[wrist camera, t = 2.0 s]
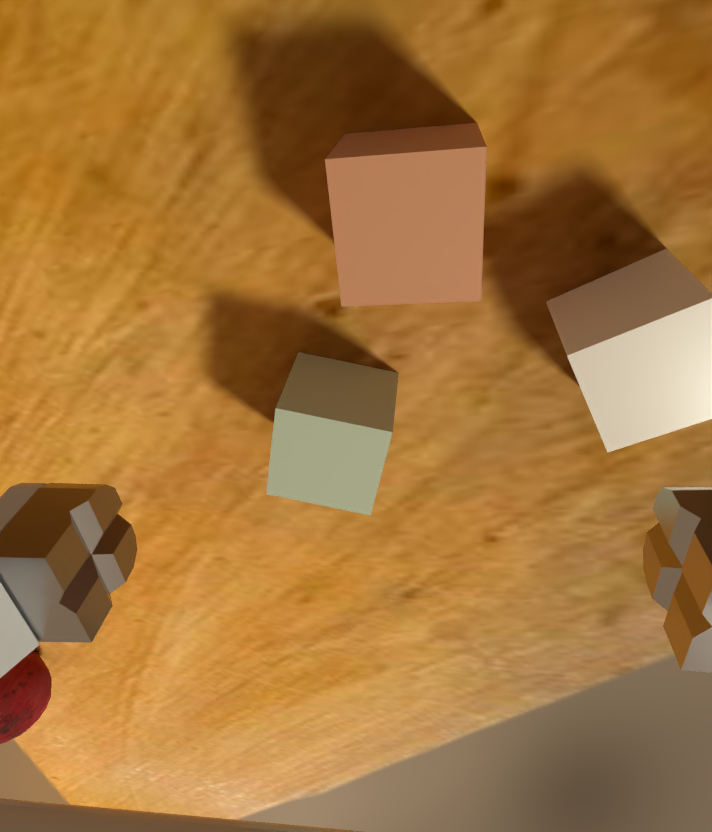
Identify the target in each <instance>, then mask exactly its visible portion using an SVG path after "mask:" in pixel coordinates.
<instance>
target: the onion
mask: <svg viewBox="0 0 712 832" xmlns="http://www.w3.org/2000/svg"><path fill="white" fill-rule="evenodd" d="M50 697H51V676H50V673H49V670H48V668H47V667H46V665H45V663H44V662H43V660H42V659H41V657H40V655H39V654H38V653H37V652H35V651H32V652H30V653H29V654H28V655H27V656H26V657H25V658H23V659H22V660H21V661H20V662H19V663H17V664H16V665H15V666H14V667H13V668H12V669H10V670H9V671H8V672H7V673H6V674H5V675H3V676H2V677H1V678H0V744H2V743H5V742H7V741H9V740H11V739H13V738H15V737H17V736H19V735H21V734H22V733H23V732H25V731H26V730H27V729H29V728H30V727H31V726H32V725H33V724H34V723H35V722H36V721H37V720H38V719H39V718H40V716H41V715H42V713H43V712H44V711H45V709H46V707H47V705H48V702H49V700H50Z"/></svg>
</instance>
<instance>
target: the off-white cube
mask: <svg viewBox="0 0 712 832" xmlns="http://www.w3.org/2000/svg"><path fill="white" fill-rule="evenodd" d="M546 303H547V306H548V309H549V311H550V314H551V316H552V319H553V321H554V324H555V326H556V329H557V332H558V334H559V337H560V339H561V342H562V344H563V347H564V350H565V352H566V355H567V357H568V359H569V362H570V364H571V367H572V369H573V371H574V374H575V376H576V378H577V381H578V383H579V386H580V388H581V390H582V393H583V395H584V397H585V400H586V402H587V404H588V407H589V409H590V412H591V414H592V416H593V419H594V421H595V423H596V426H597V428H598V431H599V433H600V435H601V438H602V440H603V442H604V445H605V447H606V449H607V452H611V451H614V450H617V449H620V448H623V447H626V446H629V445H632V444H635V443H638V442H641V441H644V440H648V439H651V438H654V437H657V436H660V435H663V434H666V433H669V432H672V431H675V430H678V429H681V428H685V427H688V426H691V425H694V424H697V423H700V422H703V421H706V420H709V419H712V293H711V292H710V291H709V290H708V289H707V288H706V287H705V286H704V285H703V284H702V283H701V282H700V281H699V280H698V279H697V278H696V277H695V276H694V275H693V274H692V273H691V272H690V271H689V270H688V269H687V268H686V267H685V266H684V265H683V264H682V263H681V262H680V261H679V260H678V259H677V258H676V257H675V256H674V255H673V254H672V253H671V252H670V251H669V250H668V249H664V250H662V251H660V252H657V253H655V254H653V255H651V256H648V257H646V258H644V259H642V260H639V261H637V262H635V263H632V264H630V265H628V266H626V267H623V268H621V269H619V270H617V271H614V272H612V273H610V274H607V275H605V276H603V277H601V278H598V279H596V280H594V281H591V282H589V283H587V284H585V285H582V286H580V287H578V288H576V289H573V290H571V291H569V292H566V293H564V294H562V295H560V296H557V297H555V298H553V299H551V300H548V301H546Z"/></svg>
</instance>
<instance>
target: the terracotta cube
mask: <svg viewBox="0 0 712 832" xmlns="http://www.w3.org/2000/svg"><path fill="white" fill-rule="evenodd" d="M486 148H487V147H486V144H485V142H484V139H483V137H482V134H481V132H480V129H479V127H478V124H477V123H465V124H453V125H441V126H430V127H418V128H406V129H394V130H382V131H371V132H359V133H347V134H344V135H343V137H342V138H341V139H340V141H339V142H338V143H337V144H336V146H335V147H334V148H333V149H332V151H331V152H330V153H329V155H328V156H327V157H326V158H325V165H326V174H327V183H328V192H329V200H330V209H331V218H332V227H333V236H334V244H335V253H336V262H337V271H338V279H339V288H340V297H341V306H365V305H390V304H415V303H440V302H465V301H481V292H482V263H483V234H484V206H485V177H486Z"/></svg>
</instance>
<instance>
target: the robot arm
mask: <svg viewBox="0 0 712 832" xmlns="http://www.w3.org/2000/svg"><path fill="white" fill-rule="evenodd" d="M121 506H122V502H121V500H120V498H119V496H118V493H117V491H116V489H115V488H114V487H111V486H108V485H102V484H68V483H49V484H45V483H20V484H17V485H14V486H12V487H10V488H9V489H8V490H7V491H6V492H5V493H4V494H3V495H2V496H1V497H0V678H1V677H2V676H3V675H5V674H6V673H7V672H8V671H9V670H10V669H12V668H13V667H14V666H15V665H16V664H17V663H19V662H20V661H21V660H22V659H23V658H25V657H26V656H27V655H28V654H29V653H30V652H32V651H33V650H34V649H35V648H36V647H37V646H39V644H40V643H39V642H92V641H93V639H94V637H95V636H96V634H97V632H98V630H99V629H100V627H101V625H102V623H103V621H104V620H105V618H106V616H107V614H108V613H109V611H110V609H111V607H112V606H113V605H112V601H111V596H110V593H111V592H113V591H114V590H116V589H117V588H118V587H120V586H121V585H123V584H124V583H125V582H126V581H127V579H128V577H129V575H130V573H131V571H132V569H133V567H134V563H135V558H136V552H137V544H136V536H135V533H134V531H133V528H132V526H131V524H130V523H129V522H127V521H126V520H125V519H124V518H122V517H121V516H120V515H119V514H118V512H119V510H120V508H121ZM653 510H654V512H655V515H656V517H657V519H658V521H659V523H658V524H657V525H656V526H654V527H653V528H652V529H650V530H649V531H648V532H647V534H646V538H645V543H644V547H643V569H644V573H645V578H646V582H647V585H648V588H649V591H650V593H651V596H652V599H654V600H655V601H656V602H657V603H659V604H660V605H661V606H662V607H664V608H665V609H666V610H667V611H668V612H667V616H666V619H665V622H664V625H663V627H664V629H665V632H666V634H667V637H668V639H669V641H670V644H671V646H672V649H673V651H674V654H675V656H676V659H677V661H678V664H679V666H680V668H681V670H687V671H699V672H712V487H662V489H661V490H660V492H659V493H658V494H657V497H656V500H655V504H654V507H653ZM0 832H363V831H352V830H340V829H330V828H318V827H308V826H297V825H286V824H276V823H265V822H254V821H243V820H232V819H221V818H210V817H199V816H188V815H177V814H166V813H155V812H144V811H133V810H122V809H111V808H100V807H89V806H78V805H67V804H56V803H45V802H34V801H22V800H12V799H1V798H0Z"/></svg>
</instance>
